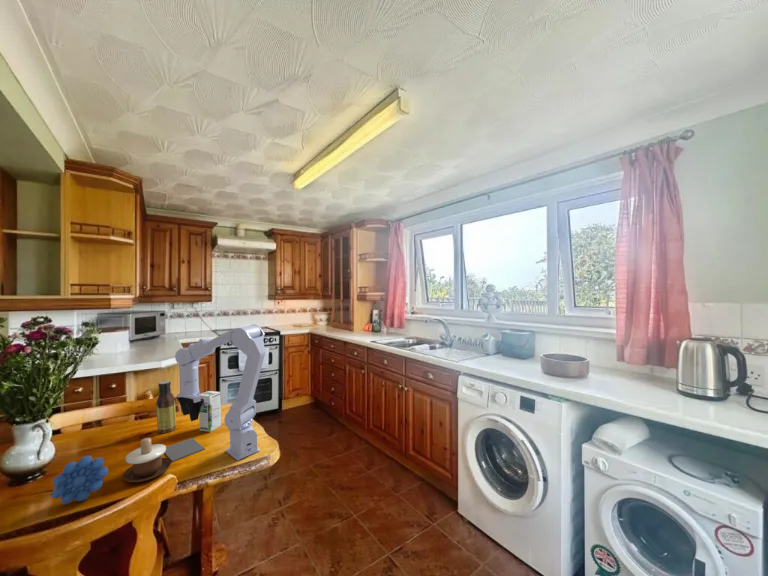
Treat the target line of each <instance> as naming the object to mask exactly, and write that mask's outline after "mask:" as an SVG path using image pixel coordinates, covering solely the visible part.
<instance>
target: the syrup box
mask: <svg viewBox="0 0 768 576" xmlns="http://www.w3.org/2000/svg"><path fill="white" fill-rule="evenodd" d="M199 395H200V399H204V403H203V404H202V406H201V409H200V413H199V417H198V420H199V423H198V424H199V427H198V428H199V431H203V432H208V433H212V432H213V431H216V430H217V429H218V428H220V427H221V426H222V416H221V415H222V412H221V403H222V402H221V391H213V390H208V391H205V392H202V393H200V394H199Z"/></svg>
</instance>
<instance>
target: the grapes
mask: <svg viewBox="0 0 768 576" xmlns="http://www.w3.org/2000/svg"><path fill="white" fill-rule="evenodd" d="M104 465H105V459H104V458H103V457H97V458H96V459H94V460H93V457H92V456H91V455H85V456H83V457H82V458H80V459H79V461H78V462H76V461H70V462H68V463H67V464H66V465H65V466H64V467H63V471H62V473H59V474H58V475H56V476H55V477H54V478H53V479H52V485H53V486H54V487H55V488H54V489H53V490H52V492H51V497H52V498H53V499H60V502H61V504H63V505H67V504H70V503H71V502H73V501H74V500H76V502H84V501H85V500H87V499H88V498H89V496H90V494H91V493H92V492H97V491H98V490H99V489H101V488H102V486H103V483H104V481H103V478H105V477H107V475H108V473H109V468H108V467H107V466H104Z"/></svg>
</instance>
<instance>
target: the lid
mask: <svg viewBox="0 0 768 576" xmlns="http://www.w3.org/2000/svg"><path fill="white" fill-rule="evenodd" d="M166 447H167V446H166V445H165V444H162V443H155V444H152V437H145V438H143V439H141V440H140V447H138V448H136V449H134V450H132V451H131V452H129V453H128V454H127V455H126V456H125V462H126V464H129V465H133V464H140V463H145V462H149V461H151V460H154V459H156V458H158V457H160V456H161V455H162V456H163V455H165V452H166Z"/></svg>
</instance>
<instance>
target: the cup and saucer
mask: <svg viewBox="0 0 768 576" xmlns="http://www.w3.org/2000/svg"><path fill="white" fill-rule="evenodd" d="M171 465H172V461H171V460H170V459H169V458H168V457H167V458H166V457H163V455H161V456H160V457H158V458H156V459H154V460H151V461H149V462H145V463H140V464H132V466H131V467H129V468H128V469H126V470H125V471H124V473H123V474H122V478H123V480H124V481H126V482H128V483H142V482H146V481H149V480H152V479H155V478H157V477H159V476H161V475H162V474H164V473H165V472H166V471H167V470H169V468H170V466H171Z"/></svg>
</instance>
